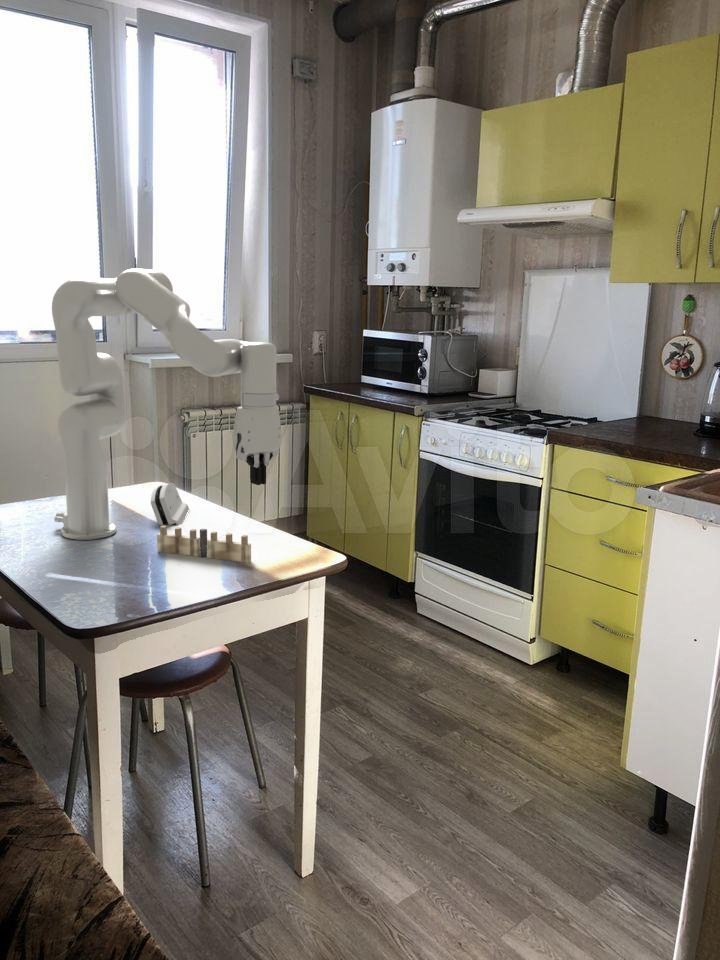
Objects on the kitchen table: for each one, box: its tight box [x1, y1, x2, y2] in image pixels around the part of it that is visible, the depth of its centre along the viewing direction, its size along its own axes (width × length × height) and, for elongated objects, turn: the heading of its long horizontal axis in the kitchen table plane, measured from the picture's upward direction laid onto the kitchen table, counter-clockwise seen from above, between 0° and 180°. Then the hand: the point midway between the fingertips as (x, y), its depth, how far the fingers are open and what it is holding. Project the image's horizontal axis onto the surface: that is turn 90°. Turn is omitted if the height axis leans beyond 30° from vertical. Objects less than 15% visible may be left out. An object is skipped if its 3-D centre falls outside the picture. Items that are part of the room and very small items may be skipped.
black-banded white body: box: [150, 482, 190, 526], centre depth 205 cm, size 17×5×10 cm, turn 3°
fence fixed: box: [156, 525, 208, 559], centre depth 177 cm, size 12×2×6 cm, turn 75°
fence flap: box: [207, 531, 252, 564], centre depth 174 cm, size 10×1×6 cm, turn 75°
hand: (258, 483), depth 175 cm, fingers closed
